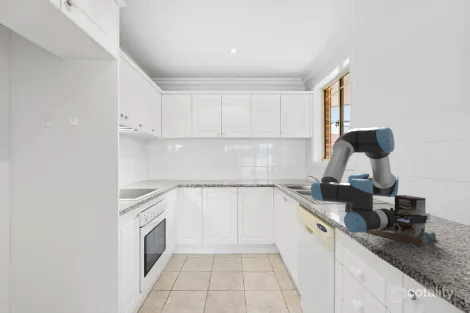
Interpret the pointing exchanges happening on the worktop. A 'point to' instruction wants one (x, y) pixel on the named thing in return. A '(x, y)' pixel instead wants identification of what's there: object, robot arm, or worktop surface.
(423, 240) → the rectangular frame
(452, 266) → the worktop surface
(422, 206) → the coffee box
